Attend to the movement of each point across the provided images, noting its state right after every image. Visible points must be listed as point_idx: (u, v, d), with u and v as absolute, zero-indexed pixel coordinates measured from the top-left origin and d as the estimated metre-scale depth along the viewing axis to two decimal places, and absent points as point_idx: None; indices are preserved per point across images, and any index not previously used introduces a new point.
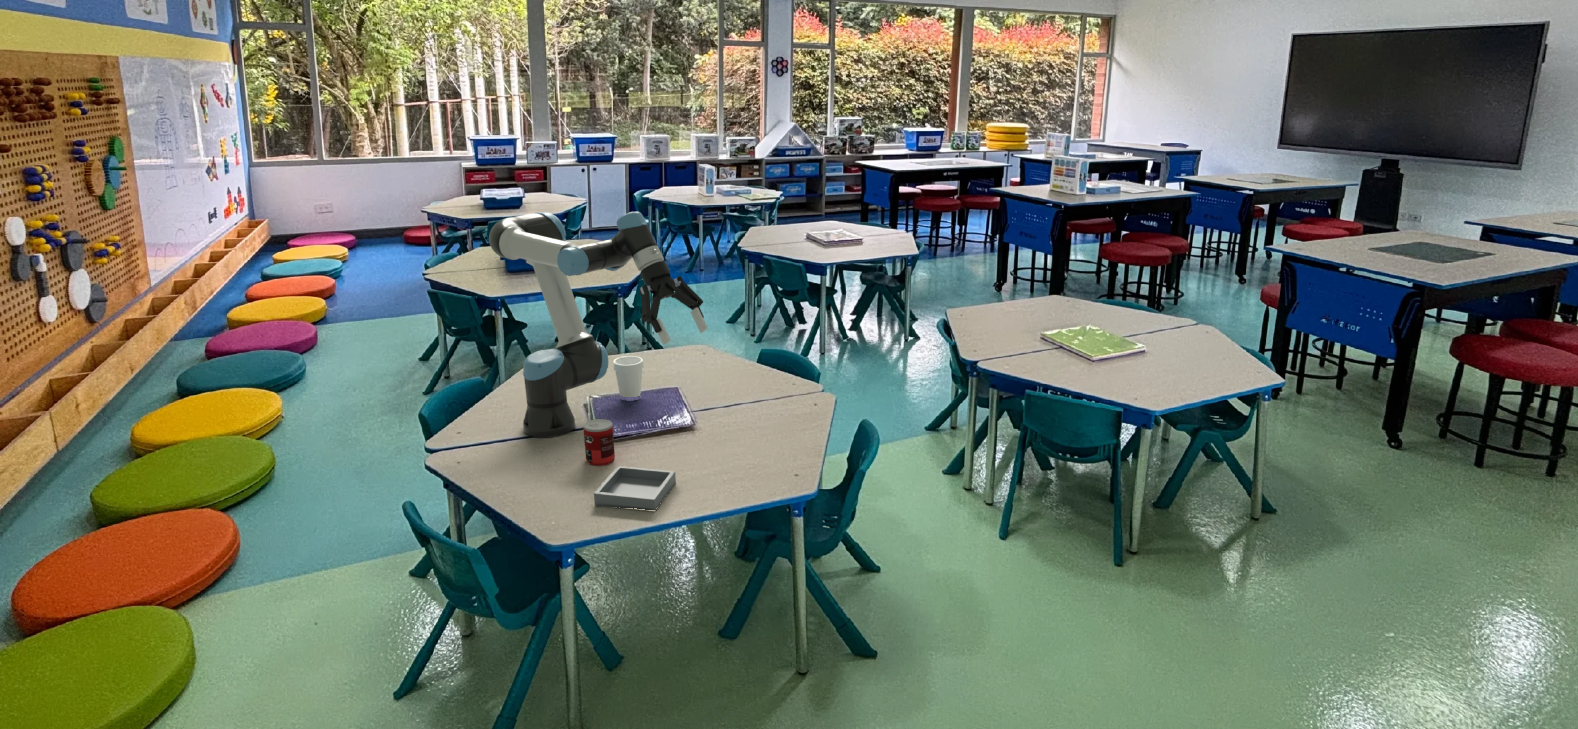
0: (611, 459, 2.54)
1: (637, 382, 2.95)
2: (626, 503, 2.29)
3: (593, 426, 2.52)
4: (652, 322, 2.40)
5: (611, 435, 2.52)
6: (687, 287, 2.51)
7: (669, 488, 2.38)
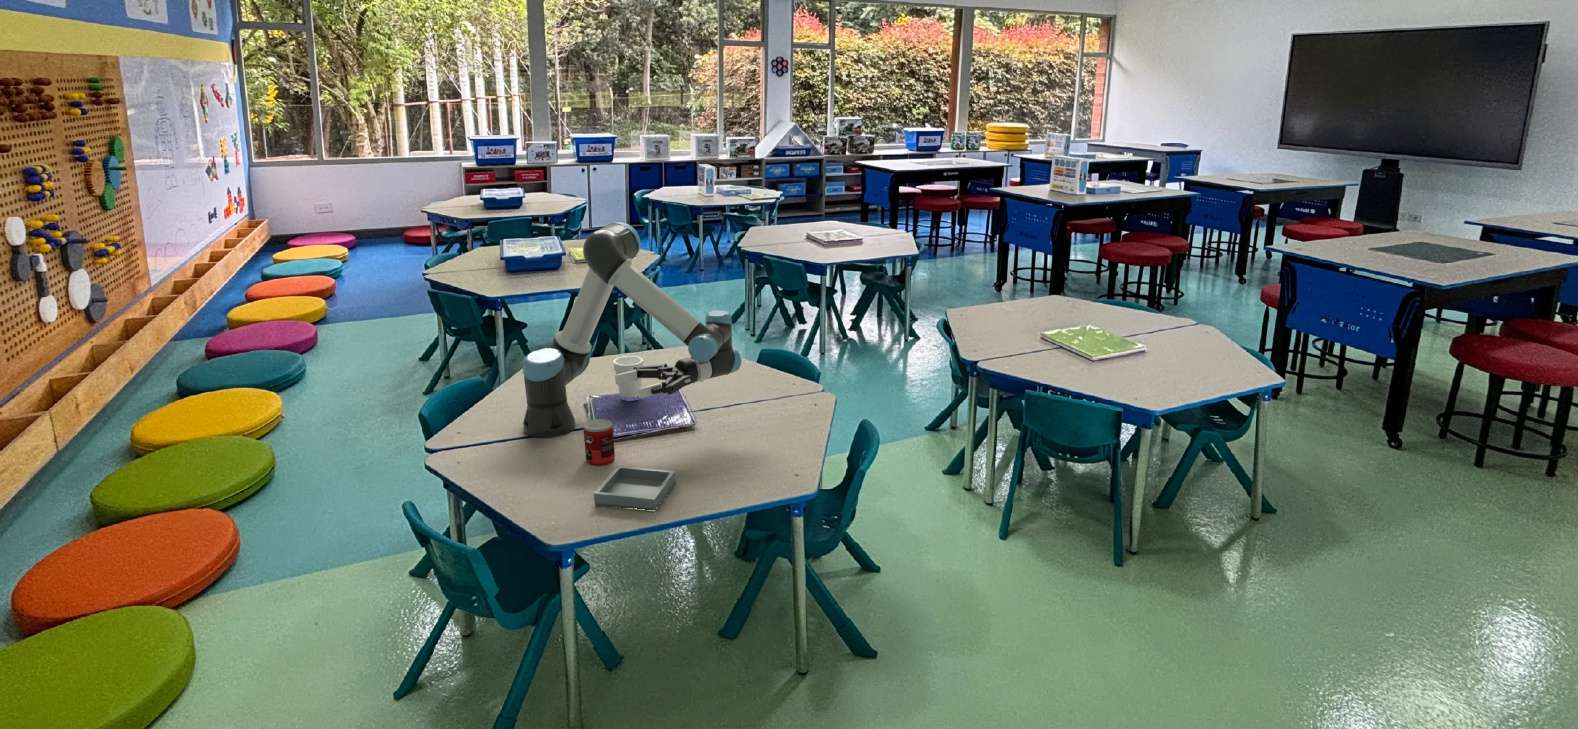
0: (611, 459, 2.54)
1: (637, 382, 2.95)
2: (626, 503, 2.29)
3: (593, 426, 2.52)
4: (662, 389, 2.52)
5: (611, 435, 2.52)
6: None
7: (669, 488, 2.38)
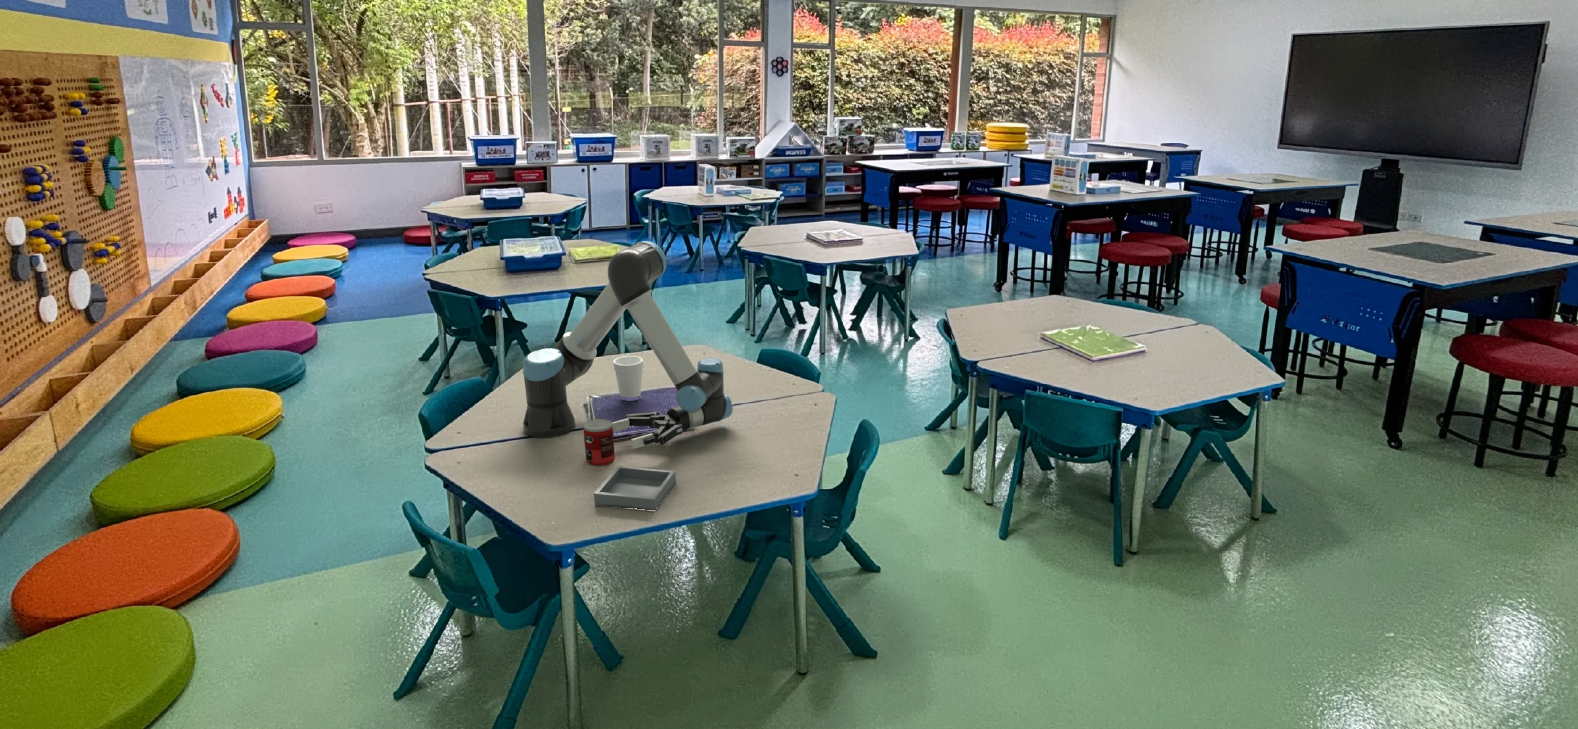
0: (611, 459, 2.54)
1: (637, 382, 2.95)
2: (626, 503, 2.29)
3: (593, 426, 2.52)
4: (654, 440, 2.54)
5: (611, 435, 2.52)
6: None
7: (669, 488, 2.38)
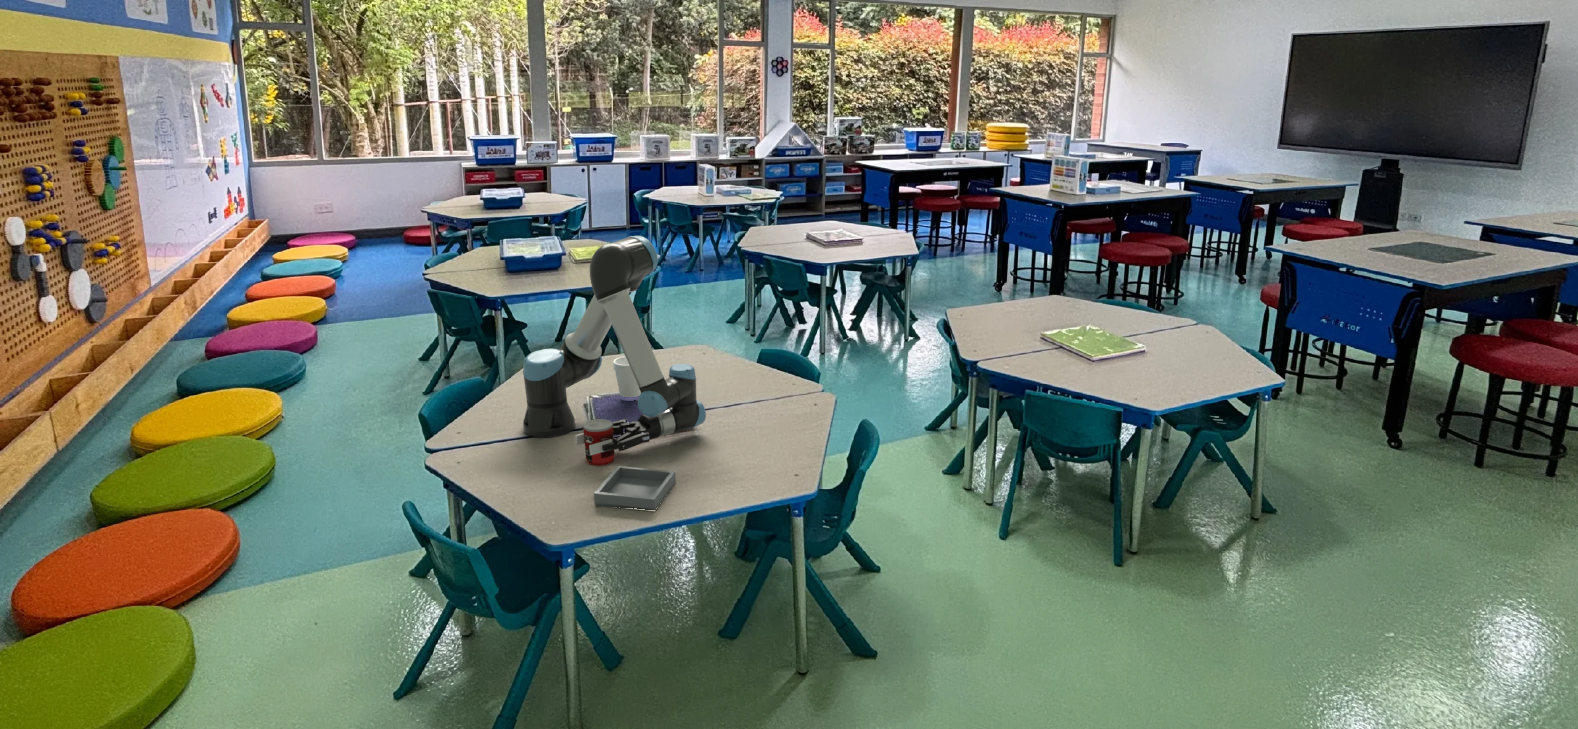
0: (611, 459, 2.54)
1: None
2: (626, 503, 2.29)
3: (593, 426, 2.52)
4: (613, 446, 2.50)
5: (611, 435, 2.52)
6: None
7: (669, 488, 2.38)
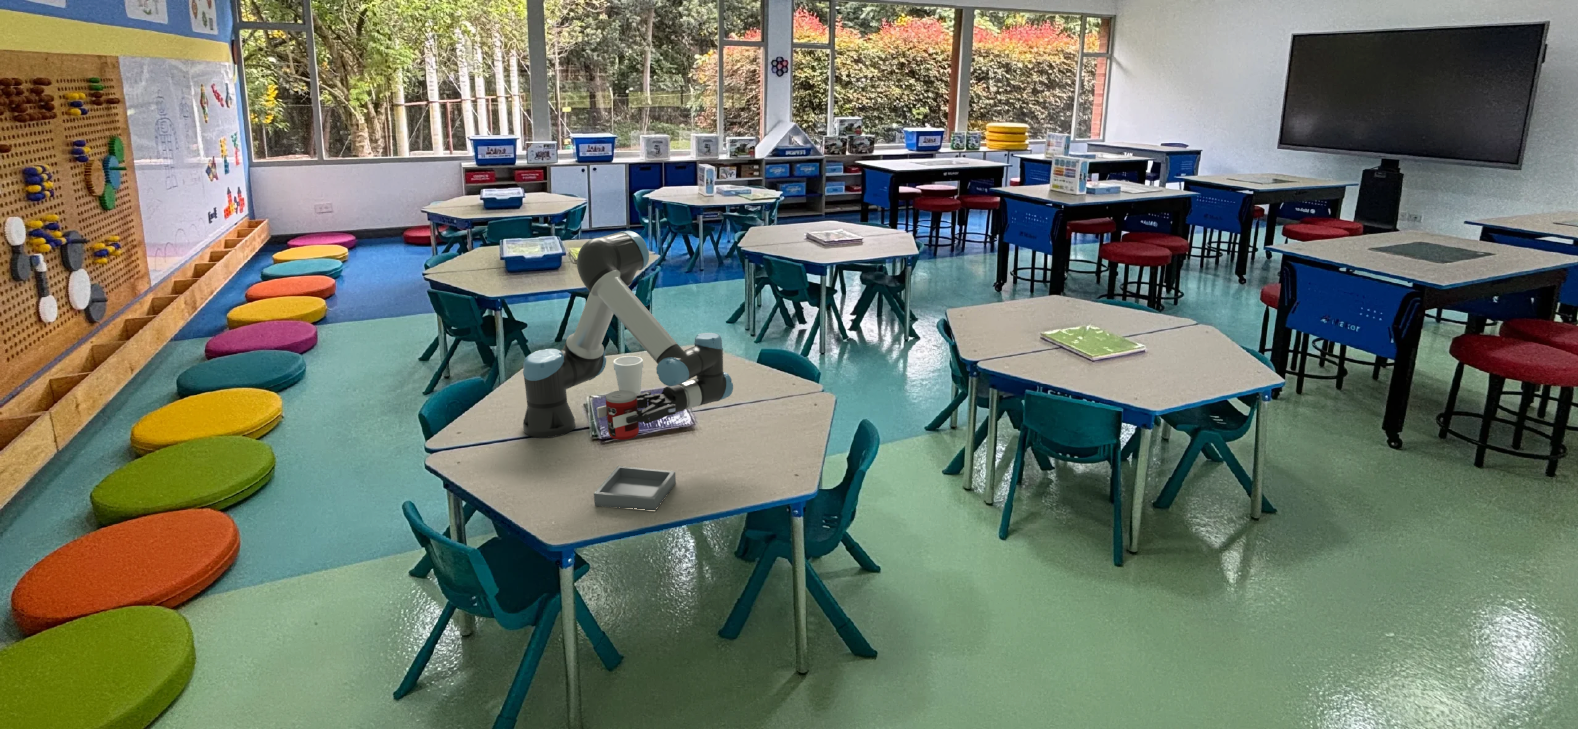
0: (635, 432, 2.39)
1: (637, 382, 2.95)
2: (626, 503, 2.29)
3: (616, 397, 2.37)
4: (638, 418, 2.35)
5: (636, 406, 2.37)
6: None
7: (669, 488, 2.38)
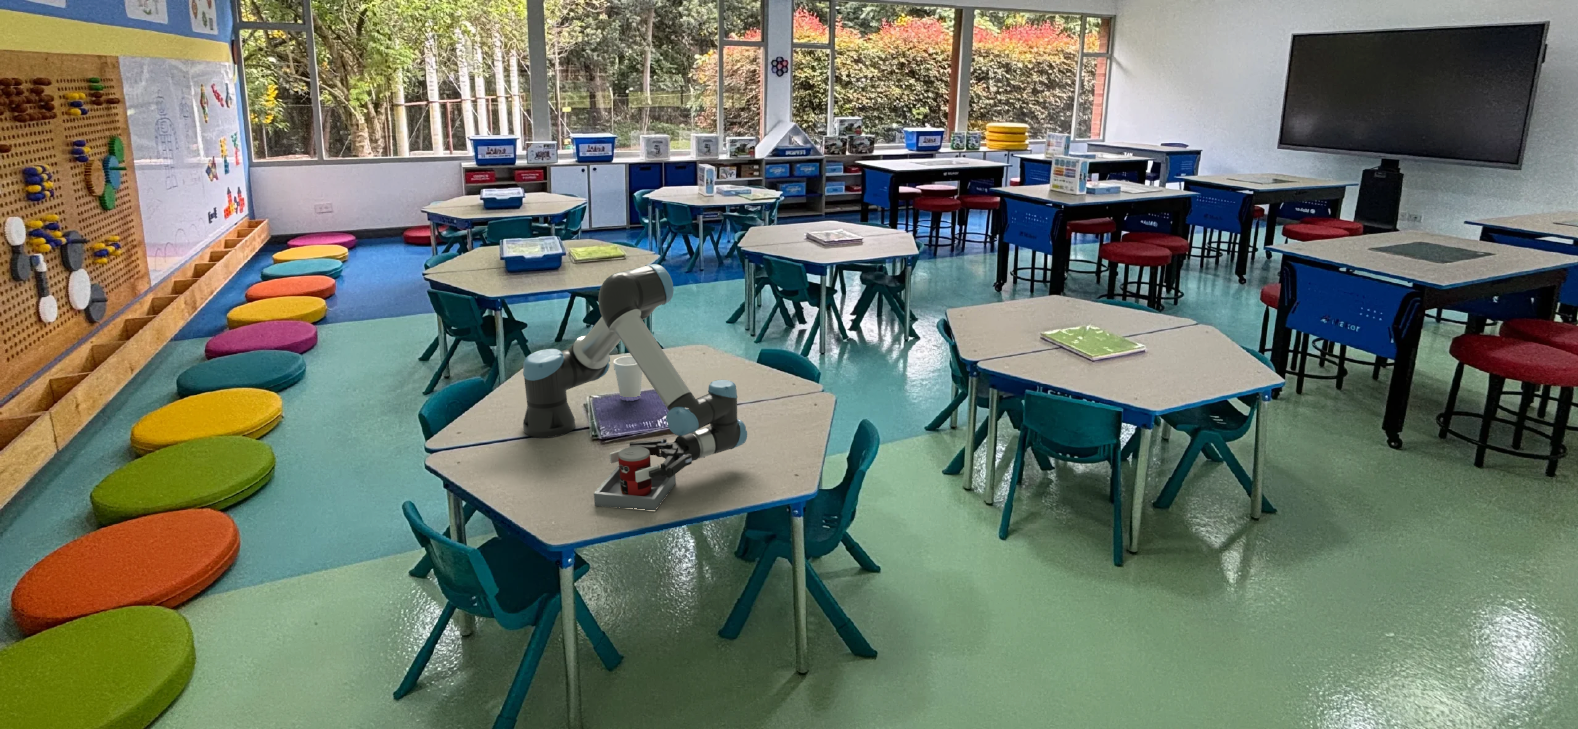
0: (648, 490, 2.34)
1: (637, 382, 2.95)
2: (626, 503, 2.29)
3: (628, 455, 2.32)
4: (661, 472, 2.29)
5: (649, 464, 2.33)
6: None
7: (669, 488, 2.38)
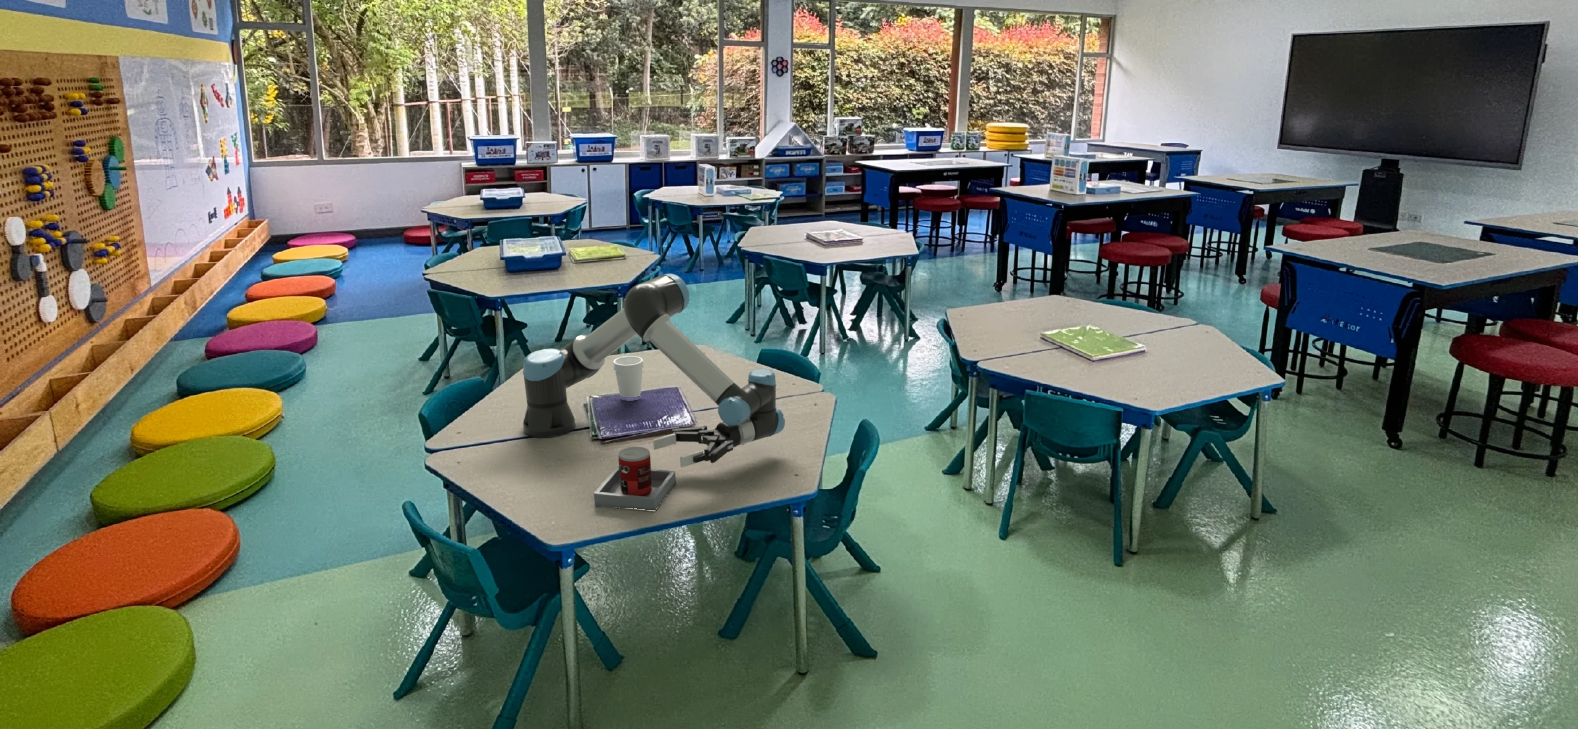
0: (648, 490, 2.34)
1: (637, 382, 2.95)
2: (626, 503, 2.29)
3: (629, 455, 2.32)
4: (705, 457, 2.37)
5: (649, 464, 2.33)
6: None
7: (669, 488, 2.38)
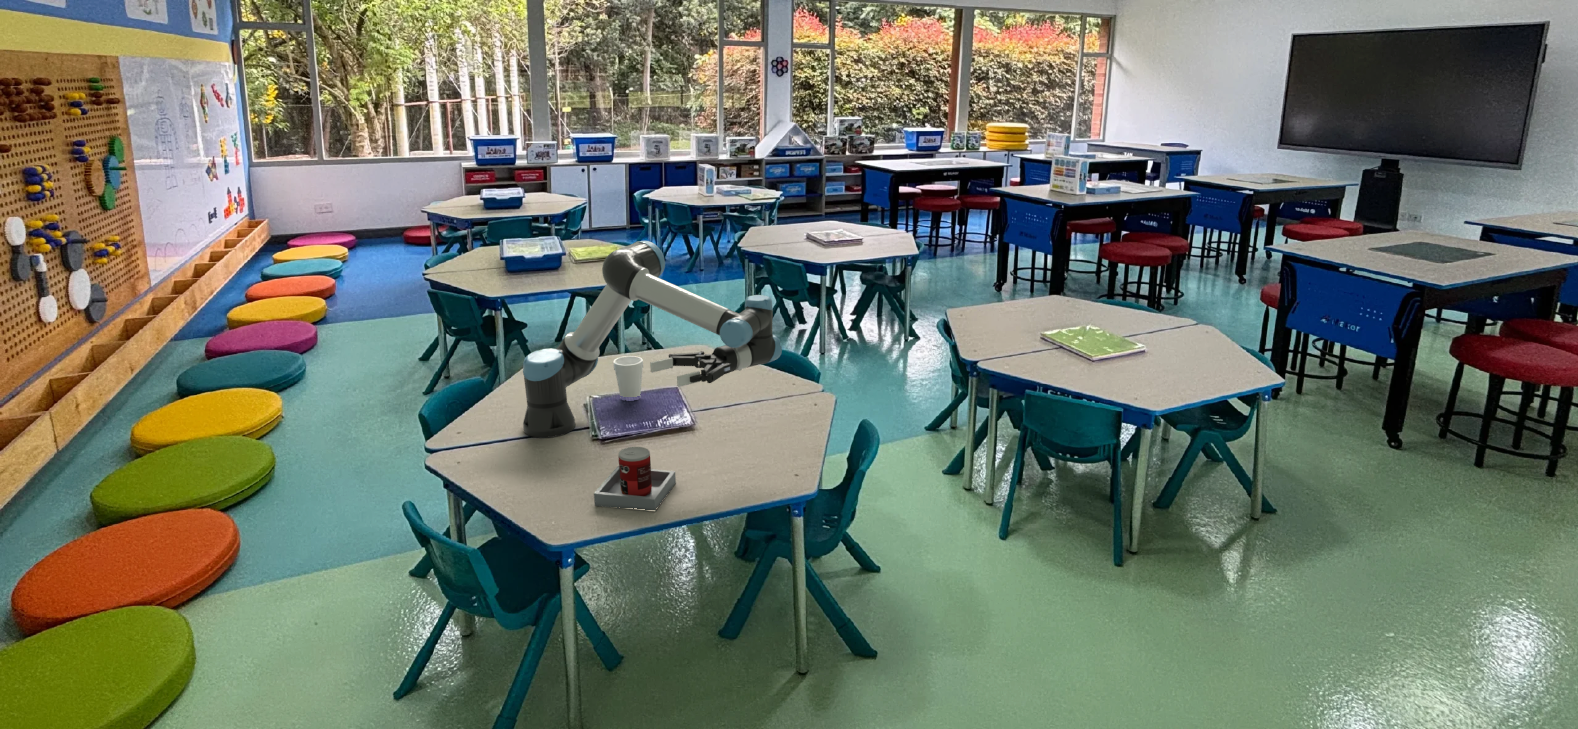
0: (648, 490, 2.34)
1: (637, 382, 2.95)
2: (626, 503, 2.29)
3: (629, 455, 2.32)
4: (701, 378, 2.37)
5: (649, 464, 2.33)
6: None
7: (669, 488, 2.38)
